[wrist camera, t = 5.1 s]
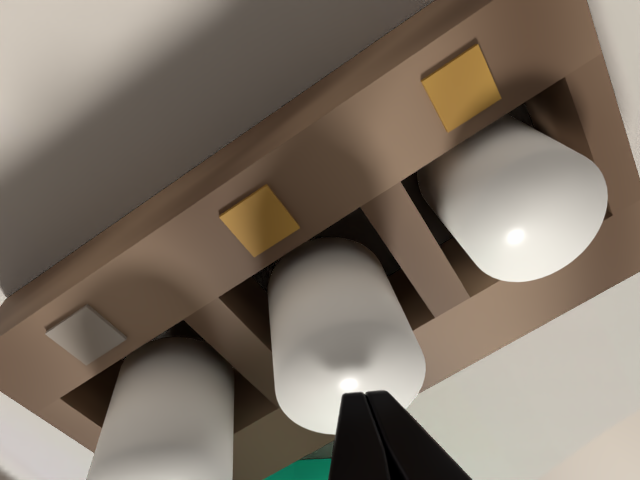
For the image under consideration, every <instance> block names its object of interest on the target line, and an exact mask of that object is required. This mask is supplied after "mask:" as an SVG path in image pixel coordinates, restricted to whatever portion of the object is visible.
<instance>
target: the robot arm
mask: <svg viewBox="0 0 640 480" xmlns="http://www.w3.org/2000/svg"><path fill="white" fill-rule="evenodd" d="M328 480H472V479H471V478H470V477H469V476H468V474H467V473H466V472H465V471H464V470H463V469H462V468H461V467H460V466H459V465H458V464H457V463H456V462H455V461H454V460H453V459H452V458H451V457H450V456H449V455H448V454H447V453H446V451H445V450H444V449H443V448H442V447H441V446H440V445H439V444H438V443H437V442H436V441H435V440H434V439H433V438H432V437H431V436H430V435H429V434H428V433H427V432H426V431H425V429H424V428H423V427H422V426H421V425H420V424H419V423H418V422H417V421H416V420H415V419H414V418H413V417H412V416H411V415H410V414H409V413H408V412H407V411H406V410H405V409H404V407H403V406H402V405H401V404H400V403H399V402H398V401H397V400H396V399H395V398H394V397H393V396H392V395H391V394H390V393H389V392H388V391H386V390H377V391H368V392H366V393H365V394H364V393H363V392H351V393H344V394H343V395H342V397H341V403H340V409H339V416H338V422H337V428H336V434H335V440H334V446H333V452H332V458H331V465H330V471H329V477H328Z"/></svg>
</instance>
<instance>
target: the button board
mask: <svg viewBox="0 0 640 480" xmlns="http://www.w3.org/2000/svg"><path fill="white" fill-rule="evenodd" d="M523 103H525V105H526V108H527V110H528V113H529V115H530V117H531V120H532V122H533V125H534V127H535V129H536V130H538V131H539V132H541V133H543V134H545V135H547V136H549V137H550V138H552V139H554V140H556V141H558V142H560V143H561V144H563V145H565V146H567V147H569V148H571V149H572V150H574V151H576V152H578V153H580V154H582V155H583V156H585V157H587V158H588V159H590V160H591V161H592V162H593V163H594V164H595V165H596V166H597V167H598V168H599V170H600V171H601V173H602V174H603V177H604V179H605V182H606V186H607V193H608V200H607V208H606V213H605V216H604V219H603V222H602V224H601V226H600V229H599V231H598V232H597V234H596V236H595V237H594V239H593V240H592V241H591V243H590V244H589V245H588V247H587V248H586V249H585V250H584V251H583V252H582V253H581V254H580V255H579V256H578V257H577V258H576V259H574V260H573V261H572V262H571V263H569V264H568V265H566V266H565V267H563V268H562V269H560V270H558V271H556V272H554V273H552V274H550V275H548V276H545V277H543V278H539V279H536V280H531V281H526V282H508V281H502V280H499V279H496V278H493V277H491V276H489V275H487V274H486V273H485V272H483V271H482V270H481V269H480V268H479V267H478V266H477V265H476V264H475V263H474V261H473V260H472V259H471V258H470V256H469V255H468V254H467V253H466V251H465V250H464V249H463V248H462V246H461V245H460V244H459V243H458V241H457V240H456V239H455V237H453V238H451V239H450V240H448V241H446V242H445V243H443V244H441V245H440V246H439V245H438V243H437V242H436V240H435V238H434V237H433V235H432V233H431V232H430V230H429V228H428V227H427V225H426V223H425V222H424V220H423V218H422V217H421V215H420V213H419V212H418V210H417V208H416V207H415V205H414V203H413V202H412V200H411V198H410V197H409V195H408V193H407V192H406V190H405V188H404V187H403V185H402V183H401V182H400V181H402V180H403V179H405V178H406V177H408V176H410V175H411V174H413V173H414V172H416V171H417V170H419V169H421V168H422V167H424V166H425V165H427V164H428V163H430V162H432V161H433V160H435V159H436V158H438V157H439V156H441V155H443V154H444V153H446V152H447V151H449V150H450V149H452V148H454V147H455V146H457V145H458V144H460V143H461V142H463V141H465V140H466V139H468V138H469V137H471V136H472V135H474V134H476V133H477V132H479V131H480V130H482V129H483V128H485V127H487V126H488V125H490V124H491V123H493V122H494V121H496V120H498V119H499V118H501V117H502V116H504V115H505V114H507V113H509V112H510V111H512V110H513V109H515V108H516V107H518V106H520V105H521V104H523ZM359 207H360V208H361V209H362V211H363V212H364V214H365V215H366V216H367V218H368V219H369V221H370V222H371V224H372V225H373V227H374V228H375V230H376V231H377V233H378V234H379V236H380V237H381V239H382V240H383V242H384V243H385V245H386V246H387V248H388V249H389V250H390V252H391V253H392V255H393V256H394V258H395V259H396V261H397V262H398V264H399V265H400V267H401V268H402V269H400V270H398V271H397V272H395V273H393V274H392V275H390V276H388V277H387V278H388V280H389V282H390V284H391V286H392V288H393V290H394V293H395V295H396V297H397V299H398V301H399V303H400V305H401V307H402V310H403V312H404V314H405V316H406V318H407V320H408V322H409V324H410V327H411V329H412V331H413V333H414V335H415V337H416V339H417V341H418V344H419V346H420V348H421V350H422V352H423V355H424V358H425V364H426V372H425V378H424V382H423V385H422V387H421V389H420V391H419V393H421V392H423V391H424V390H426V389H428V388H430V387H432V386H433V385H435V384H437V383H439V382H441V381H442V380H444V379H446V378H448V377H450V376H452V375H453V374H455V373H457V372H459V371H461V370H462V369H464V368H466V367H468V366H470V365H471V364H473V363H475V362H477V361H479V360H481V359H482V358H484V357H486V356H488V355H490V354H491V353H493V352H495V351H497V350H499V349H500V348H502V347H504V346H506V345H508V344H510V343H511V342H513V341H515V340H517V339H519V338H520V337H522V336H524V335H526V334H528V333H529V332H531V331H533V330H535V329H537V328H539V327H540V326H542V325H544V324H546V323H548V322H549V321H551V320H553V319H555V318H557V317H558V316H560V315H562V314H564V313H566V312H567V311H569V310H571V309H573V308H575V307H577V306H578V305H580V304H582V303H584V302H586V301H587V300H589V299H591V298H593V297H595V296H596V295H598V294H600V293H602V292H604V291H606V290H607V289H609V288H611V287H613V286H615V285H616V284H618V283H620V282H622V281H624V280H625V279H627V278H629V277H631V276H633V275H635V274H636V273H638V272H640V178H639V175H638V171H637V168H636V165H635V161H634V158H633V155H632V151H631V148H630V145H629V141H628V138H627V134H626V131H625V128H624V124H623V121H622V118H621V114H620V111H619V107H618V104H617V101H616V97H615V94H614V91H613V87H612V84H611V80H610V77H609V74H608V70H607V67H606V64H605V60H604V57H603V54H602V50H601V47H600V43H599V40H598V37H597V33H596V30H595V27H594V23H593V20H592V16H591V13H590V10H589V6H588V3H587V0H435V1H433V2H432V3H431V4H429V5H428V6H426V7H425V8H423V9H422V10H420V11H419V12H418V13H416V14H415V15H413V16H412V17H410V18H409V19H408V20H406V21H405V22H403V23H402V24H400V25H399V26H397V27H396V28H395V29H393V30H392V31H390V32H389V33H387V34H386V35H385V36H383V37H382V38H380V39H379V40H377V41H376V42H375V43H373V44H372V45H370V46H369V47H367V48H366V49H364V50H363V51H362V52H360V53H359V54H357V55H356V56H354V57H353V58H352V59H350V60H349V61H347V62H346V63H344V64H343V65H341V66H340V67H339V68H337V69H336V70H334V71H333V72H331V73H330V74H329V75H327V76H326V77H324V78H323V79H321V80H320V81H318V82H317V83H316V84H314V85H313V86H311V87H310V88H308V89H307V90H306V91H304V92H303V93H301V94H300V95H298V96H297V97H295V98H294V99H293V100H291V101H290V102H288V103H287V104H285V105H284V106H283V107H281V108H280V109H278V110H277V111H275V112H274V113H272V114H271V115H270V116H268V117H267V118H265V119H264V120H262V121H261V122H260V123H258V124H257V125H255V126H254V127H252V128H251V129H249V130H248V131H247V132H245V133H244V134H242V135H241V136H239V137H238V138H237V139H235V140H234V141H232V142H231V143H229V144H228V145H226V146H225V147H224V148H222V149H221V150H219V151H218V152H216V153H215V154H214V155H212V156H211V157H209V158H208V159H206V160H205V161H203V162H202V163H201V164H199V165H198V166H196V167H195V168H193V169H192V170H191V171H189V172H188V173H186V174H185V175H183V176H182V177H180V178H179V179H178V180H176V181H175V182H173V183H172V184H170V185H169V186H168V187H166V188H165V189H163V190H162V191H160V192H159V193H157V194H156V195H155V196H153V197H152V198H150V199H149V200H147V201H146V202H145V203H143V204H142V205H140V206H139V207H137V208H136V209H135V210H133V211H132V212H130V213H129V214H127V215H126V216H124V217H123V218H122V219H120V220H119V221H117V222H116V223H114V224H113V225H112V226H110V227H109V228H107V229H106V230H104V231H103V232H101V233H100V234H99V235H97V236H96V237H94V238H93V239H91V240H90V241H89V242H87V243H86V244H84V245H83V246H81V247H80V248H78V249H77V250H76V251H74V252H73V253H71V254H70V255H68V256H67V257H66V258H64V259H63V260H61V261H60V262H58V263H57V264H55V265H54V266H53V267H51V268H50V269H48V270H47V271H45V272H44V273H43V274H41V275H40V276H38V277H37V278H35V279H34V280H32V281H31V282H30V283H28V284H27V285H25V286H24V287H22V288H21V289H20V290H18V291H17V292H15V293H14V294H12V295H11V296H9V297H8V298H7V299H5V301H4V302H3V304H2V305H1V306H0V391H1V392H2V393H4V394H5V395H7V396H8V397H10V398H11V399H13V400H14V401H16V402H17V403H19V404H20V405H22V406H24V407H25V408H27V409H28V410H30V411H31V412H33V413H34V414H36V415H37V416H39V417H40V418H42V419H43V420H45V421H46V422H48V423H49V424H51V425H52V426H54V427H55V428H57V429H59V430H60V431H62V432H63V433H65V434H66V435H68V436H69V437H71V438H72V439H74V440H75V441H77V442H78V443H80V444H81V445H83V446H84V447H86V448H87V449H89V450H90V451H92V452H93V453H95V450H96V447H97V443H98V440H99V437H100V433H101V430H102V427H103V424H104V420H105V417H106V414H107V411H108V407H109V404H110V401H111V397H112V394H113V391H114V388H115V384H116V381H117V378H118V375H119V371H120V368H121V366H122V364H123V362H124V361H123V360H122V358H124V357H125V356H127V355H128V354H130V353H131V352H133V351H135V350H136V349H138V348H139V347H141V346H142V345H144V344H146V343H147V342H149V341H150V340H152V339H153V338H155V337H157V336H158V335H160V334H161V333H163V332H164V331H166V330H168V329H169V328H171V327H172V326H174V325H175V324H177V323H179V322H180V321H182V320H184V321H185V322H186V323H187V324H188V325H189V326H191V327H192V328H193V329H194V330H195V331H196V332H197V333H198V334H199V335H200V336H201V337H202V338H203V339H204V340H206V341H207V342H208V343H209V344H210V345H211V346H212V347H213V348H214V349H215V350H216V351H217V352H218V353H219V354H220V355H222V356H223V357H224V358H225V359H226V360H227V361H228V362H229V363H230V364H231V365H232V366H233V367H234V368H235V369H234V370H233V371H234V429H233V480H263V479H265V478H267V477H269V476H270V475H272V474H274V473H276V472H278V471H279V470H281V469H283V468H285V467H287V466H288V465H290V464H292V463H294V462H296V461H297V460H299V459H301V458H303V457H305V456H307V455H308V454H310V453H312V452H314V451H316V450H317V449H319V448H321V447H323V446H325V445H326V444H328V443H330V442H332V441H334V440H335V435H334V434H324V433H319V432H315V431H311V430H308V429H306V428H304V427H301V426H300V425H298V424H296V423H295V422H293V421H292V420H291V419H290V418H288V416H287V415H286V414H285V413H284V412H283V410H282V409H281V407H280V406H279V403H278V401H277V398H276V393H275V383H274V370H273V357H272V344H271V331H270V319H269V306H268V294H267V293H266V292H265V291H264V290H263V289H262V288H261V286H260V285H259V284H258V283H257V282H256V281H255V280H254V279H253V278H252V275H254V274H256V273H257V272H259V271H260V270H262V269H263V268H265V267H267V266H268V265H270V264H271V263H273V262H274V261H276V260H278V259H279V258H281V257H282V256H284V255H285V254H287V253H289V252H290V251H292V250H293V249H295V248H296V247H298V246H300V245H301V244H303V243H304V242H306V241H307V240H309V239H311V238H312V237H314V236H315V235H317V234H318V233H320V232H322V231H323V230H325V229H326V228H328V227H329V226H331V225H333V224H334V223H336V222H337V221H339V220H340V219H342V218H344V217H345V216H347V215H348V214H350V213H351V212H353V211H355V210H356V209H358V208H359ZM419 393H418V394H419Z"/></svg>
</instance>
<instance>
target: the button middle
mask: <svg viewBox="0 0 640 480" xmlns="http://www.w3.org/2000/svg"><path fill="white" fill-rule="evenodd" d="M268 306H269V319H270V331H271V344H272V357H273V370H274V383H275V393H276V398H277V401H278V403H279V406H280V407H281V409H282V410H283V412H284V413H285V414H286V415H287V416H288V418H290V419H291V420H292V421H293V422H295V423H296V424H298V425H300V426H301V427H304V428H306V429H308V430H311V431H315V432H319V433H324V434H334V435H335V434H336V428H337V422H338V416H339V409H340V403H341V397H342V395H343V394H344V393H351V392H363V393H364V394H365V393H366V392H368V391H377V390H386V391H388V392H389V393H390V394H391V395H392V396H393V397H394V398H395V399H396V400H397V401H398V402H399V403H400V404H401V405H402V406H403V407H404V409H406V408H407V407H408V406H409V405H410V404H411V403H412V401H413V400H414V399H415V397H416V396H417V395H418V393H419V391H420V389H421V387H422V385H423V382H424V378H425V372H426V364H425V358H424V355H423V352H422V350H421V348H420V346H419V344H418V341H417V339H416V337H415V335H414V333H413V331H412V329H411V327H410V324H409V322H408V320H407V318H406V316H405V314H404V312H403V310H402V307H401V305H400V303H399V301H398V299H397V297H396V295H395V293H394V290H393V288H392V286H391V284H390V282H389V280H388V278H387V276H386V273H385V271H384V269H383V267H382V265H381V263H380V261H379V260H378V258H377V257H376V256H375V254H374V253H373V252H372V251H371V250H369V249H368V248H367V247H365V246H364V245H362V244H360V243H358V242H356V241H353V240H350V239H346V238H340V237H324V238H318V239H314V240H310V241H307V242H305V243H303V244H301V245H300V246H298V247H296V248H295V249H293V250H292V251H290V252H289V253H287V254H286V255H285V256H283V257H282V258H281V260H280V261H279V262H278V263H277V265H276V266H275V268H274V269H273V271H272V273H271V276H270V279H269V282H268Z"/></svg>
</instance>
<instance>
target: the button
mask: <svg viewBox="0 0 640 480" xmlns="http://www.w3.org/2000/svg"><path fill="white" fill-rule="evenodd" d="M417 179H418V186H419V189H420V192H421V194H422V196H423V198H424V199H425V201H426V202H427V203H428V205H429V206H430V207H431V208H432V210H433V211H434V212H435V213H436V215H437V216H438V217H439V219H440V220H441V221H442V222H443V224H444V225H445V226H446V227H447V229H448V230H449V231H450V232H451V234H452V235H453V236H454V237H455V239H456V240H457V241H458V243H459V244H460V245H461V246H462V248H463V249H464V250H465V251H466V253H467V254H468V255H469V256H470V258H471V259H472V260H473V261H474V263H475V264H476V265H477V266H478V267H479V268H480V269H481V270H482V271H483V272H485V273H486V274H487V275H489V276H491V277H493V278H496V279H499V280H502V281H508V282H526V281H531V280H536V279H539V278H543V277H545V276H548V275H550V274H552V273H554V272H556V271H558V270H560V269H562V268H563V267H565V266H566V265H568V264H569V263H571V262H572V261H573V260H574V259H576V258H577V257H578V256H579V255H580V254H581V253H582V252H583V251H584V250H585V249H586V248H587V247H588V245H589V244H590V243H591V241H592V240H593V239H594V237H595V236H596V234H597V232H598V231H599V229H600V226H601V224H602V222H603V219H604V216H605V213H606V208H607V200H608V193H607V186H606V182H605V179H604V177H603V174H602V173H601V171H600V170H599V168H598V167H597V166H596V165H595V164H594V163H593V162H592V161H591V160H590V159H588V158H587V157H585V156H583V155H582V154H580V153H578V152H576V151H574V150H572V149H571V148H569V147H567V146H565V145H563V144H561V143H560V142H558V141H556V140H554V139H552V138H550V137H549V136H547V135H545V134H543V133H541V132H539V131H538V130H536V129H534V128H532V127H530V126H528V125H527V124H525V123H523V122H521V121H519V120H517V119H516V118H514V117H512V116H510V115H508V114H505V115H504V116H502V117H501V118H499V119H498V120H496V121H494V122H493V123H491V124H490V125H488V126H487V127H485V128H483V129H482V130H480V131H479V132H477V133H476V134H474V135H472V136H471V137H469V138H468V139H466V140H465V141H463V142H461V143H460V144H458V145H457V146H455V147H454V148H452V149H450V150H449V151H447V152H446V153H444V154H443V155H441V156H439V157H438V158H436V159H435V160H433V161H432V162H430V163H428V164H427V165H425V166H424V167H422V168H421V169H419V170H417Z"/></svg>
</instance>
